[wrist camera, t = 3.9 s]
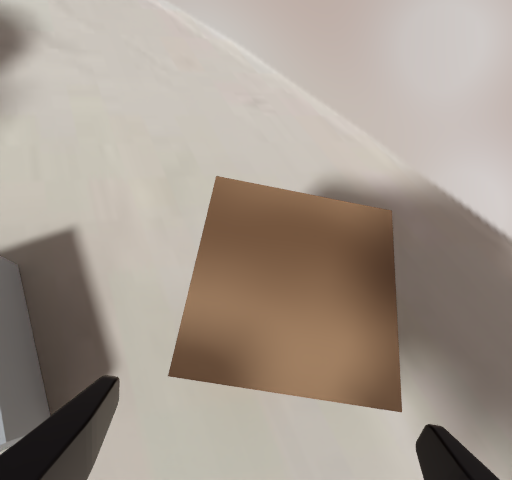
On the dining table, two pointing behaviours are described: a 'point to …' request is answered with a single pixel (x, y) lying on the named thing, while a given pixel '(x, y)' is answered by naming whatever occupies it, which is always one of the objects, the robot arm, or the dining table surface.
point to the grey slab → (18, 362)
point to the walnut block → (293, 298)
